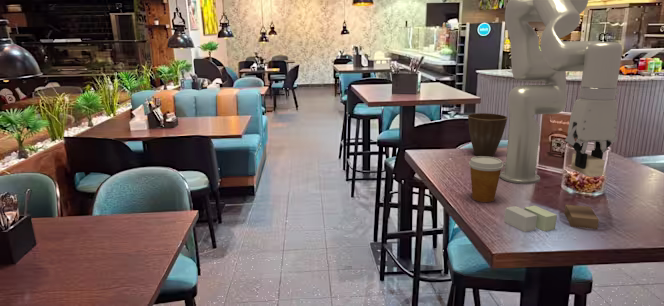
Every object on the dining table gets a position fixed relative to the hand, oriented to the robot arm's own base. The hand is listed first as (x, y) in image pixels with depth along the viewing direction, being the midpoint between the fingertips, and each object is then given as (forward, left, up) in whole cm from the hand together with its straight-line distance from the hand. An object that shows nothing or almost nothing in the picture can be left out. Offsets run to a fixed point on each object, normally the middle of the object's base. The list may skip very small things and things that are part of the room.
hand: (587, 166), depth 112 cm
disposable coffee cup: (-20, -17, -15) cm, 30 cm away
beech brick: (0, 0, -2) cm, 2 cm away
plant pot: (-68, +7, -15) cm, 70 cm away
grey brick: (0, -17, -15) cm, 23 cm away
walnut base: (0, 0, -15) cm, 15 cm away
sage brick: (0, -12, -15) cm, 19 cm away
